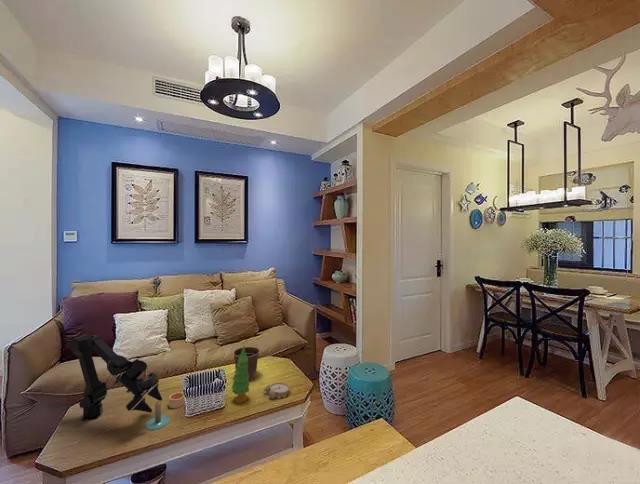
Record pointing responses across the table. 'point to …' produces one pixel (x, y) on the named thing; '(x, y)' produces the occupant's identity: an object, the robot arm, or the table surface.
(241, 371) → the decorative tree
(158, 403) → the teal stand with rod
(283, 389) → the candle holder
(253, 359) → the plant pot
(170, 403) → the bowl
